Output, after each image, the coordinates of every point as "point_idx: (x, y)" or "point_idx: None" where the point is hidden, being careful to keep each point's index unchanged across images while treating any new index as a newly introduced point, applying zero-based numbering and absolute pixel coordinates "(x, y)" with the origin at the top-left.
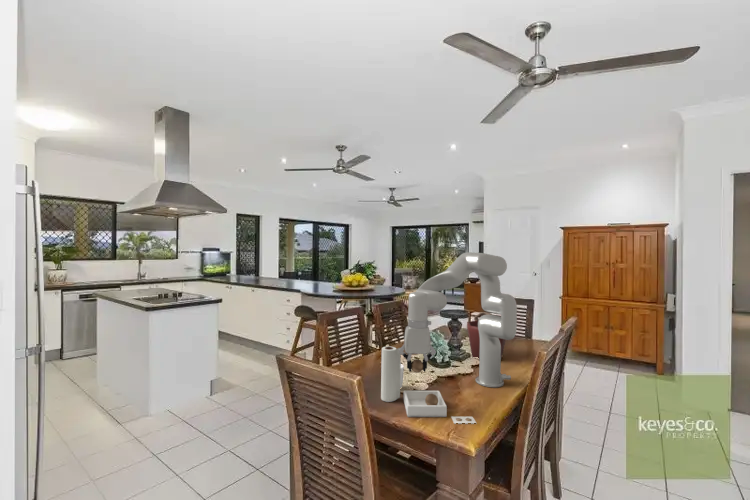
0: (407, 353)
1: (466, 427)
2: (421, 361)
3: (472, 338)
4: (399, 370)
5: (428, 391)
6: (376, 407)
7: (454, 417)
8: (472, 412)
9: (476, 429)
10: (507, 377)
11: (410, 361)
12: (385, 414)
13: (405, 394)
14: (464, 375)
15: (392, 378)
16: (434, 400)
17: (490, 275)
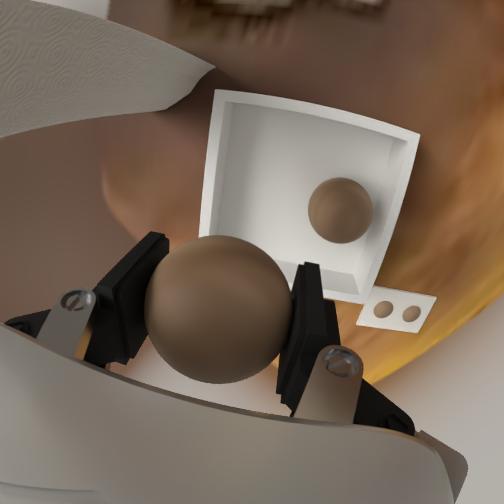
0: (38, 336)
1: (377, 342)
2: (260, 363)
3: None
4: (143, 45)
5: (360, 126)
6: (106, 156)
7: (379, 294)
8: (459, 265)
9: (395, 353)
10: None
11: (121, 362)
12: (133, 217)
13: (212, 143)
14: None
15: (106, 111)
16: (342, 243)
17: None
